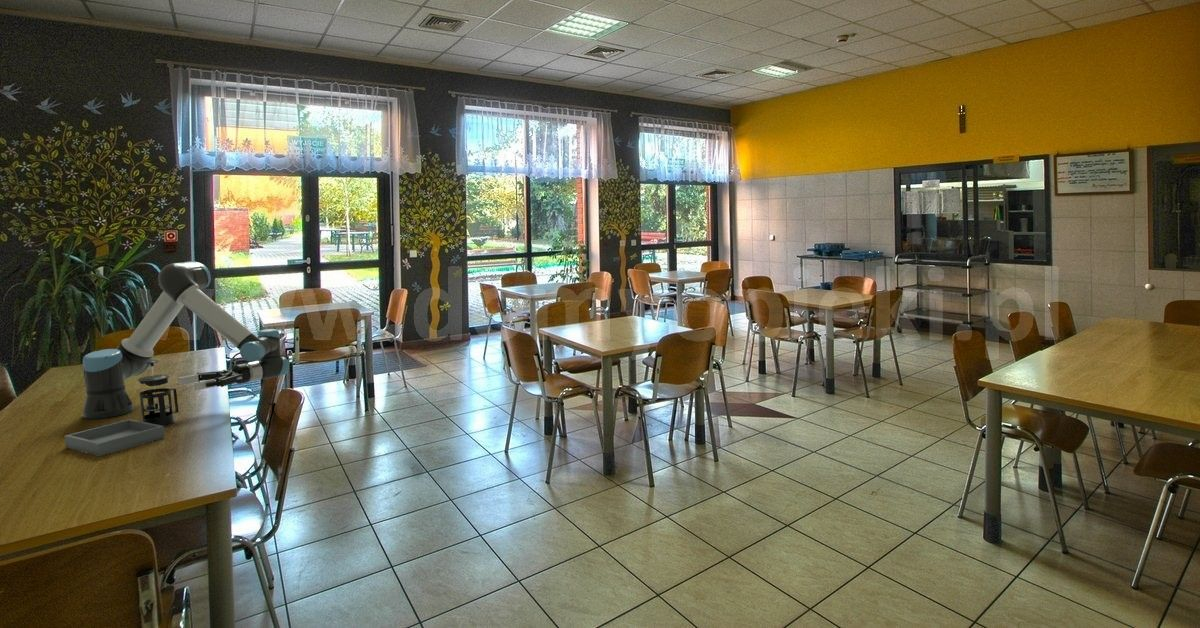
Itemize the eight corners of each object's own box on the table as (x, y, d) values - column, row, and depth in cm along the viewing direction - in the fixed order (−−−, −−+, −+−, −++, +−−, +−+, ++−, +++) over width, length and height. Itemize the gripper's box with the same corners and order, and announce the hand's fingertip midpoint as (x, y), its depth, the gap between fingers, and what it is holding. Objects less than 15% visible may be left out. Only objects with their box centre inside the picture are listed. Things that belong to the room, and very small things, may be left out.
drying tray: (66, 447, 200) (64, 435, 200) (131, 430, 217) (130, 419, 217) (99, 456, 192) (98, 444, 192) (165, 437, 209) (163, 426, 209)
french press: (147, 430, 217) (139, 365, 214) (135, 426, 222) (127, 362, 219) (184, 421, 227) (178, 358, 224) (172, 417, 232) (165, 356, 229)
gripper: (263, 386, 241) (203, 399, 224) (232, 377, 255) (173, 389, 238) (262, 367, 240) (201, 378, 223) (230, 359, 254) (171, 369, 237)
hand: (186, 384), depth 230 cm, fingers open, 13 cm apart
